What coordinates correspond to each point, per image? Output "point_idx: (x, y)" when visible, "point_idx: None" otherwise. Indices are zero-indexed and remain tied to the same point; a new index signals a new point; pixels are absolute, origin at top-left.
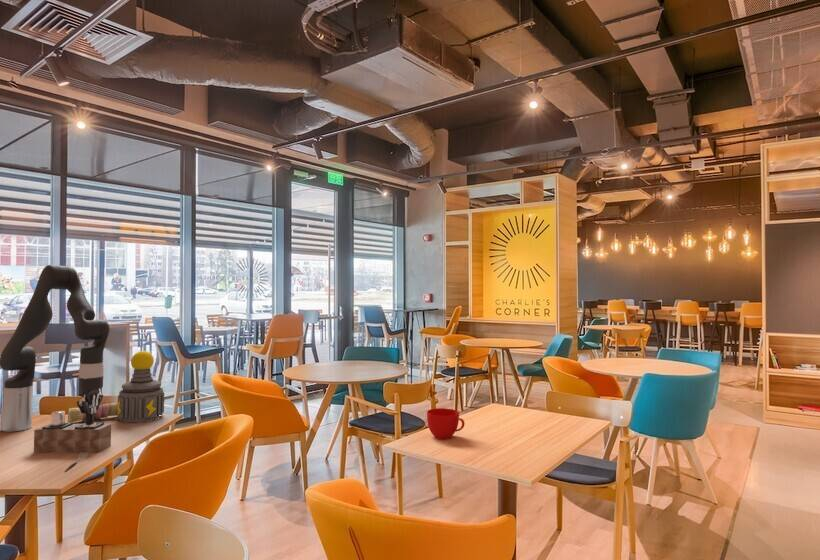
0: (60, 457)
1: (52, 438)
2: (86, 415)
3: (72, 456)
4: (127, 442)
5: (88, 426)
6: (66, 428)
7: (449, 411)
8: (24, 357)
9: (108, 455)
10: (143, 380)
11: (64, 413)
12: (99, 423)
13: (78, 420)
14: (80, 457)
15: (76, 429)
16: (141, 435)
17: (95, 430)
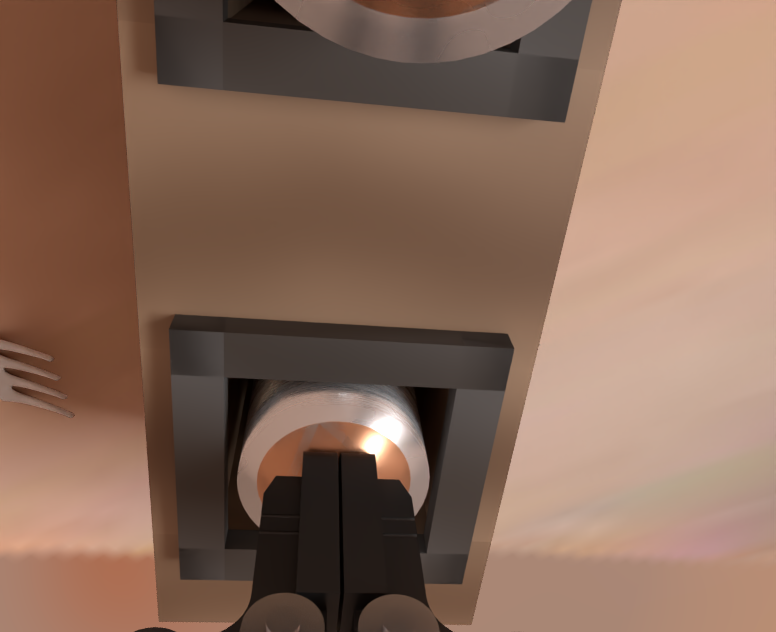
0: (16, 133)
1: None
2: (253, 602)
3: (67, 247)
4: (525, 517)
5: (242, 492)
6: (213, 152)
7: None
8: None
9: (127, 528)
10: None
11: (414, 58)
12: (427, 547)
13: None
14: (3, 360)
15: (148, 355)
16: (740, 536)
17: (160, 575)
